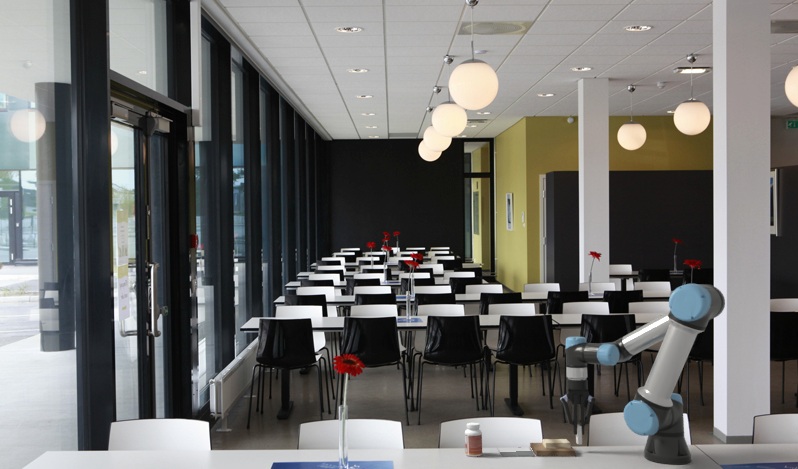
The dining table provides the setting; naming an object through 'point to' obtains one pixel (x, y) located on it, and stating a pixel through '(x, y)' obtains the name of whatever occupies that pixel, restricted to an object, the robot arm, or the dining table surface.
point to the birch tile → (556, 443)
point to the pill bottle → (473, 440)
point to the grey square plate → (517, 454)
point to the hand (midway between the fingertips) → (579, 443)
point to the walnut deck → (551, 451)
